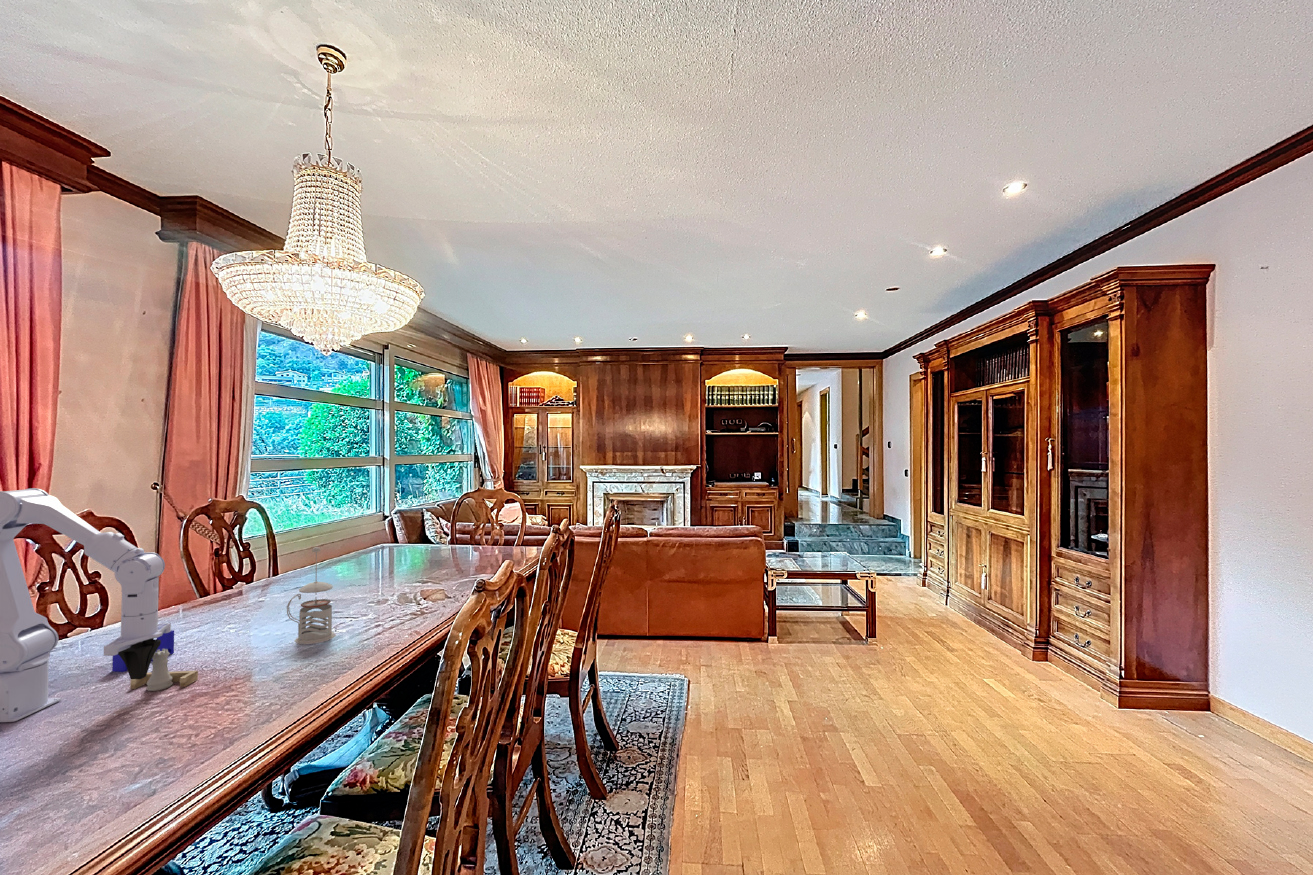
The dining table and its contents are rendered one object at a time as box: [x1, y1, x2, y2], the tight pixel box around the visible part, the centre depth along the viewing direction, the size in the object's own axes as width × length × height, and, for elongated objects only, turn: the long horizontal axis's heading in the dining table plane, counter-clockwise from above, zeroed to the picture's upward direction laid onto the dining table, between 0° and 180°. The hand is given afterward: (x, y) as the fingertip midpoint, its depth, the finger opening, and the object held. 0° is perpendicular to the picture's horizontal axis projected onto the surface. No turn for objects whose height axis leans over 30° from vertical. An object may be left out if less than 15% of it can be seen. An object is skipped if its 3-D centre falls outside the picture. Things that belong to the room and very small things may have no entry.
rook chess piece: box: [145, 649, 174, 692], centre depth 123 cm, size 4×4×8 cm
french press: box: [286, 546, 337, 645], centre depth 155 cm, size 10×12×25 cm
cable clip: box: [111, 629, 175, 673], centre depth 138 cm, size 12×4×6 cm, turn 172°
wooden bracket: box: [129, 670, 199, 690], centre depth 124 cm, size 4×11×2 cm, turn 95°
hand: (138, 677), depth 117 cm, fingers closed
